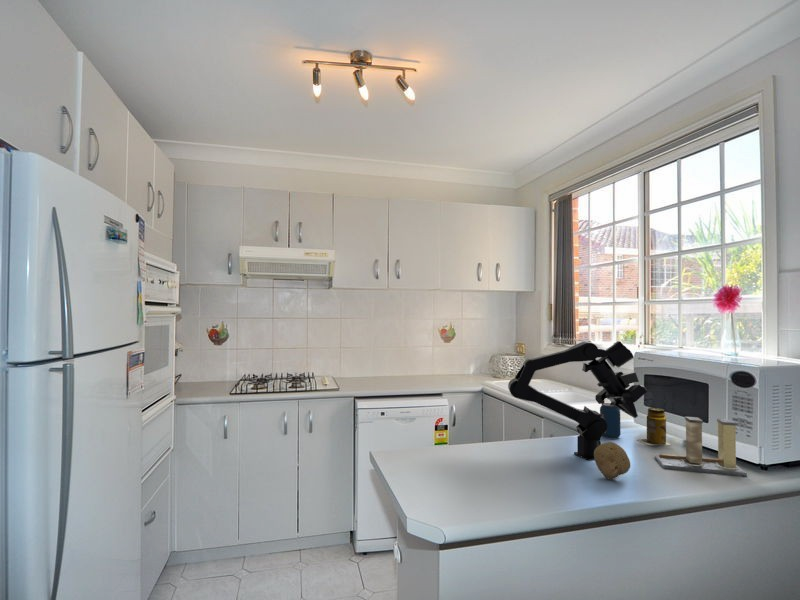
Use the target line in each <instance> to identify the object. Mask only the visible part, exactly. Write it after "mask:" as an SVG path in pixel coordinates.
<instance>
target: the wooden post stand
mask: <svg viewBox="0 0 800 600" xmlns="http://www.w3.org/2000/svg"><path fill="white" fill-rule="evenodd" d="M716 422H717V441H718V442H717V449H718V451H717V454H718V455H717V458H712V457H702V464H698V463H690V462H689V461H688V460H687V459H686V455H679V454H669V453H668V454H666V453H658V454H654V455H653V456H654V459H655V461H656V462H657V463H658V464H659V465H660V466H661V467H662V469H666V470H667V469H668V470H679V471H685V472H698V473H707V472H708V473H707V474H719V475H720V474H721V475H727V474H729V476H737V475H740V476H739V477H748V474H747V473H748V472H746V471H745V470H744V469H742V468H741V467H740V466H738V465H737V451H736V449H737V448H736V445H737V444H736V437H737V436H736V435H737V433H736V426H738V424H737V422H735V421H733V420H732V419H727V418H716Z"/></svg>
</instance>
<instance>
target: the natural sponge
mask: <svg viewBox="0 0 800 600" xmlns="http://www.w3.org/2000/svg"><path fill="white" fill-rule="evenodd" d="M593 460H594V461H595V465H596V467H597V468H598V470H599V472H600V473H601V474H602V476H603V477H604V478H606V479H607V480H615V479H616V478H618V477H620V476H621V475H625V474H626V473H628V472H629V471H630V468H631V460H630V458H629V456H628V454H627V452H626V451H625V449H624V448H623V447H622V446H620V445H619V444H617V443H616V442H612V441H608V442H603V443H602V442H601V444H600V445H599V446H598V447H597V448H596V449H595V451H594V459H593Z"/></svg>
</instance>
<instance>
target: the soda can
mask: <svg viewBox="0 0 800 600" xmlns="http://www.w3.org/2000/svg"><path fill="white" fill-rule="evenodd" d="M610 403H611V402H605V403H604V404H601V406H600V407H599V414H601V415H602V416H601V417H602V418H603V419H605V421H606V422H607V430H606V432H605V433H603V434H602V436H603V437H602V438H605V439H609V440H610V439H611V440H616V439H618V440H619V438H620V437H621V432H622V431H621V410H620V409H618V408H616V407H614V406H612V405H610Z"/></svg>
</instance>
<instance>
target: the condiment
mask: <svg viewBox="0 0 800 600" xmlns="http://www.w3.org/2000/svg"><path fill="white" fill-rule="evenodd" d="M665 412H666V411H665V409H663V408H659V407H648V409H647V415H646V438H643V439H641V438H636V440H637V441H639V442H641V443H643V444H644V445H648V446H671V445H672V444H671V443H669V442H667V418H666V417H665V415H666V413H665Z"/></svg>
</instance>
